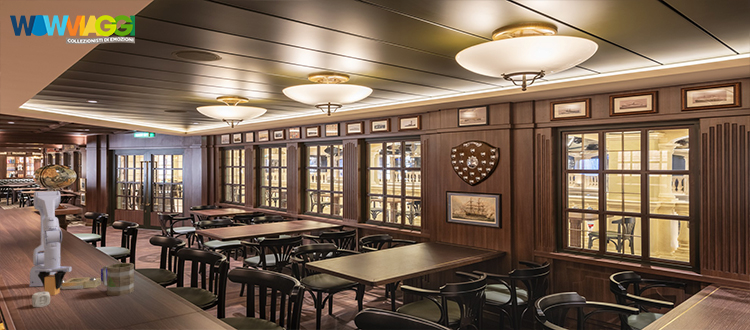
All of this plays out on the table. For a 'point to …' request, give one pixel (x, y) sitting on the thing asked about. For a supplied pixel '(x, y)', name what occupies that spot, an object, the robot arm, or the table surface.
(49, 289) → the orange rectangular peg
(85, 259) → the table surface
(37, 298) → the die
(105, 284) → the mug
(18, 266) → the table surface
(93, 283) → the square frame connector
